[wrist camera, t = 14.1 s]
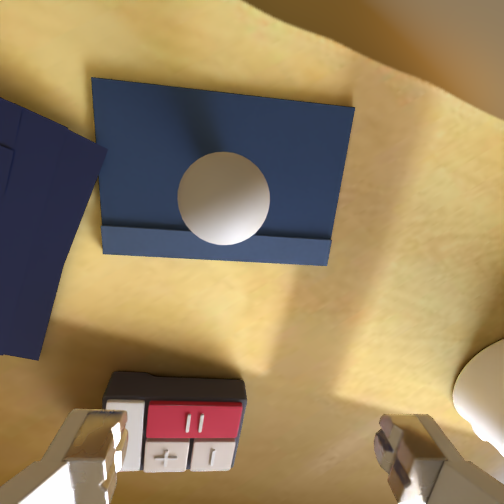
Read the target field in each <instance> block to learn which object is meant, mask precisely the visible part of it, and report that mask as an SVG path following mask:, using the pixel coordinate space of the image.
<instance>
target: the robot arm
mask: <svg viewBox="0 0 504 504" xmlns="http://www.w3.org/2000/svg"><path fill="white" fill-rule="evenodd" d="M453 403H454V406H455V409H456V410H457V412H458V413H459V414H460V415H461V416H462V417H463V418H464V419H466V420H467V421H468V422H469V423H471V425H472V428H473V431H474V432H475V434H476V435H477V436H478V437H479V438H480V439H482V440H483V441H489V442H490V443H491V444H492V445H493V446H494V447H495V448H496V449H497V450H498V451H499V452H500V453H501V454H502V455H503V456H504V339H502V340H500V341H498V342H496V343H494V344H492V345H490V346H488V347H487V348H485V349H484V350H482V351H481V352H479V353H478V354H477V355H476V356H475V357H473V358H472V359H471V360H470V361H469V362H468V364H467V365H466V366H465V367H464V368H463V370H462V371H461V373H460V374H459V376H458V378H457V380H456V383H455V386H454V389H453ZM127 421H128V416H127V411H125V410H103V409H73V410H72V411H71V412H70V413H69V414H68V416H67V418H66V419H65V421H64V423H63V424H62V426H61V428H60V429H59V431H58V433H57V434H56V436H55V438H54V439H53V441H52V443H51V444H50V446H49V448H48V449H47V451H46V453H45V454H44V456H43V458H42V459H41V461H38V462H33V463H32V464H30V465H29V466H28V467H26V468H25V469H24V470H22V471H21V472H20V473H18V474H17V475H16V476H14V477H13V478H12V479H10V480H9V481H8V482H6V483H5V484H4V485H2V486H1V487H0V504H110V502H111V499H112V496H113V493H114V490H115V487H116V484H117V478H116V473H117V472H118V471H119V470H120V469H121V468H122V466H123V463H124V460H125V456H126V451H127V447H128V430H127V429H126V428H125V426H126V423H127ZM379 424H380V426H381V429H380V430H379V431H378V432H377V433H376V435H375V439H374V450H375V454H376V458H377V460H378V462H379V464H380V467H382V468H383V469H384V470H385V471H386V472H387V473H388V474H389V475H388V483H389V485H390V487H391V490H392V492H393V494H394V496H395V498H396V500H397V502H398V504H504V485H503V484H502V483H501V482H499V481H498V480H496V479H495V478H493V477H492V476H490V475H489V474H488V473H486V472H485V471H483V470H482V469H480V468H479V467H478V466H476V465H475V464H473V463H472V462H470V461H465V460H464V459H463V457H462V456H461V455H460V453H459V452H458V451H457V449H456V448H455V447H454V446H453V444H452V443H451V442H450V440H449V439H448V438H447V436H446V435H445V434H444V432H443V431H442V430H441V428H440V427H439V426H438V424H437V423H436V422H435V421H434V419H433V418H432V417H431V416H429V415H428V414H413V415H412V414H383V415H382V416H381V418H380V421H379Z"/></svg>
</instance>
